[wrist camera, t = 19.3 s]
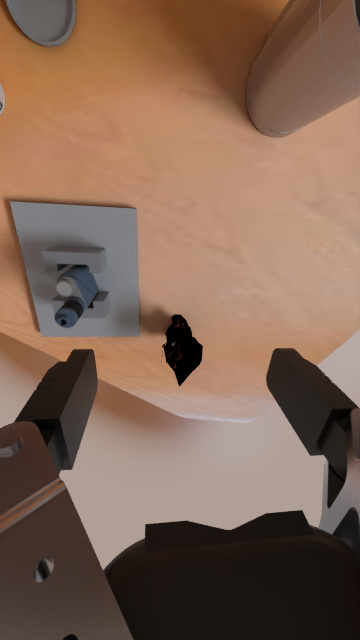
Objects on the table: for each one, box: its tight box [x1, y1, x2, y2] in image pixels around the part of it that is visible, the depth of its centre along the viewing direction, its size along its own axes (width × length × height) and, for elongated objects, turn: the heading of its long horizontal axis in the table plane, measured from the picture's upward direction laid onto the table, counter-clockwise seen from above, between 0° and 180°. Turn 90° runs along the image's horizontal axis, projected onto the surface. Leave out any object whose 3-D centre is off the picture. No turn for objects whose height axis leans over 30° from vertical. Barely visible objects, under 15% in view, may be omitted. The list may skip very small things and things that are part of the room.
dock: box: [10, 201, 140, 337], centre depth 34 cm, size 20×16×5 cm
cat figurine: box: [161, 315, 203, 387], centre depth 36 cm, size 7×7×12 cm
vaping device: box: [54, 264, 99, 328], centre depth 30 cm, size 3×5×12 cm, turn 14°
